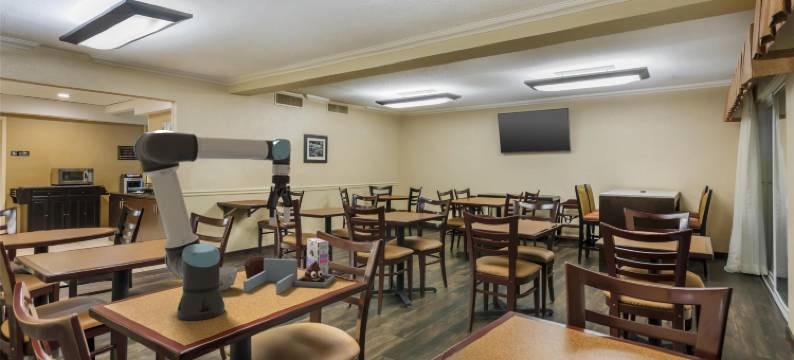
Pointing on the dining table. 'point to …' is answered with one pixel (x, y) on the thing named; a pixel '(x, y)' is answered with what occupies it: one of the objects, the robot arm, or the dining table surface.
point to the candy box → (318, 254)
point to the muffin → (254, 265)
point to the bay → (275, 274)
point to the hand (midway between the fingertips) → (279, 223)
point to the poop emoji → (314, 274)
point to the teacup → (227, 277)
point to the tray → (323, 284)
